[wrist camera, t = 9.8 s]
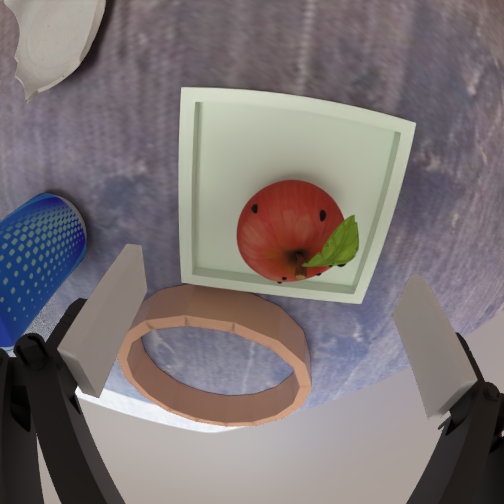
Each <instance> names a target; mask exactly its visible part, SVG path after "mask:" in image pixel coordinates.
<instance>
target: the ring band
mask: <svg viewBox="0 0 504 504" xmlns="http://www.w3.org/2000/svg"><path fill="white" fill-rule="evenodd" d="M188 325H189V326H195V327H201V328H207V329H214V330H221V331H228V332H232V333H235V334H237V335H239V336H242V337H244V338H247V339H249V340H252V341H254V342H257V343H259V344H262V345H264V346H267V347H269V348H271V349H272V350H273V351H274V352H275V353H276V354H278V355H279V356H280V357H281V358H282V359H284V360H285V361H286V362H287V363H288V364H290V365H291V366H292V367H293V368H294V372H293V373H292V374H291V375H290V376H289V377H288V378H286V379H285V380H284V381H283V382H282V383H281V384H279V385H278V386H277V387H274V388H271V389H268V390H265V391H263V392H260V393H257V394H250V395H236V396H227V395H220V394H213V393H207V392H202V391H200V390H197V389H194V388H192V387H189V386H187V385H184V384H182V383H179V382H178V381H176V380H175V379H173V378H172V377H170V376H169V375H167V374H166V373H165V372H163V371H162V370H160V369H159V368H158V367H157V366H156V365H155V363H154V362H153V361H152V360H151V358H150V357H149V356H148V354H147V353H146V352H145V351H144V347H143V343H142V339H141V337H142V336H143V335H145V334H146V333H148V332H150V331H151V330H153V329H162V328H171V327H180V326H188ZM117 358H118V361H119V364H120V366H121V369H122V371H123V374H124V377H125V378H126V379H127V380H128V381H129V382H130V383H131V384H132V385H133V386H134V387H135V388H136V389H137V390H138V391H139V393H140V394H141V395H142V396H144V397H145V398H147V399H149V400H150V401H152V402H153V403H155V404H157V405H158V406H160V407H161V408H163V409H165V410H166V411H169V412H171V413H174V414H176V415H179V416H182V417H185V418H187V419H190V420H193V421H196V422H201V423H207V424H213V425H220V426H226V427H228V426H254V425H255V426H257V425H261V424H264V423H268V422H272V421H275V420H278V419H282V418H284V417H286V416H287V415H289V414H290V413H292V412H293V411H295V410H296V409H298V408H299V407H301V406H302V405H303V404H304V402H305V400H306V398H307V396H308V393H309V391H310V389H311V387H312V379H311V361H310V352H309V349H308V345H307V341H306V338H305V334H304V330H303V329H302V328H301V327H300V326H299V325H298V324H297V323H296V322H295V321H294V320H293V319H292V318H291V317H290V316H289V315H288V314H287V313H286V312H285V311H284V310H283V309H282V308H281V307H280V306H278V305H276V304H273V303H271V302H269V301H267V300H264V299H262V298H260V297H258V296H256V295H254V294H251V293H249V292H246V291H238V290H231V289H223V288H216V287H209V286H202V285H195V284H187V285H181V286H176V287H171V288H165V289H160V290H158V291H157V292H156V293H154V294H153V295H152V296H150V297H149V298H148V299H146V300H145V301H144V302H142V303H141V305H140V307H139V309H138V311H137V313H136V316H135V318H134V320H133V322H132V324H131V326H130V328H129V330H128V333H127V335H126V337H125V339H124V341H123V343H122V346H121V348H120V350H119V352H118V355H117Z"/></svg>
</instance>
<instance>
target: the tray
mask: <svg viewBox="0 0 504 504" xmlns="http://www.w3.org/2000/svg"><path fill="white" fill-rule="evenodd" d="M415 126H416V123H414V122H411V121H409V120H406V119H403V118H399V117H396V116H392V115H388V114H385V113H381V112H377V111H373V110H369V109H365V108H361V107H357V106H352V105H348V104H343V103H338V102H333V101H328V100H322V99H317V98H311V97H305V96H298V95H291V94H284V93H276V92H267V91H258V90H246V89H233V88H214V87H181V104H180V127H179V241H180V265H181V283H188V284H195V285H202V286H209V287H216V288H223V289H231V290H238V291H246V292H254V293H262V294H270V295H279V296H287V297H296V298H305V299H314V300H324V301H334V302H344V303H355V304H361V303H362V300H363V298H364V296H365V293H366V291H367V288H368V285H369V283H370V280H371V278H372V275H373V272H374V270H375V267H376V264H377V261H378V259H379V256H380V253H381V250H382V247H383V244H384V241H385V238H386V235H387V232H388V229H389V226H390V223H391V220H392V216H393V213H394V210H395V206H396V203H397V200H398V196H399V193H400V189H401V185H402V182H403V178H404V174H405V170H406V166H407V162H408V158H409V154H410V150H411V145H412V141H413V136H414V131H415ZM284 180H301V181H305V182H309V183H311V184H314V185H316V186H318V187H319V188H321V189H323V190H324V191H325V192H326V193H328V194H329V195H330V196H331V197H332V198H333V199H334V201H335V202H336V203H337V205H338V207H339V208H340V210H341V212H342V214H343V217H344V219H347V218H348V217H350V216H352V215H355V222H357V224H358V233H359V250H358V251H357V253H356V254H355V255H356V256H355V257H354V258H353V259H352V260H351V261H350V262H348V263H346V265H345V266H343V267H338V266H333V267H332V268H330V269H329V270H327V271H325V272H323V273H322V274H321V275H320V276H314V277H311V278H308V279H304V280H300V281H294V282H282V283H281V284H278V283H277V281H272V280H269V279H267V278H265V277H263V276H261V275H259V274H258V273H256V272H255V271H254V270H252V269H251V268H250V267H249V266H248V265H247V264H246V263H245V261H244V260H243V258H242V256H241V254H240V252H239V249H238V245H237V225H238V220H239V217H240V214H241V212H242V210H243V208H244V206H245V205H246V203H247V202H248V201H249V200H250V199H251V198H252V196H254V195H255V194H256V193H257V192H259V191H260V190H261V189H263V188H265V187H267V186H269V185H271V184H273V183H276V182H279V181H284Z"/></svg>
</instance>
